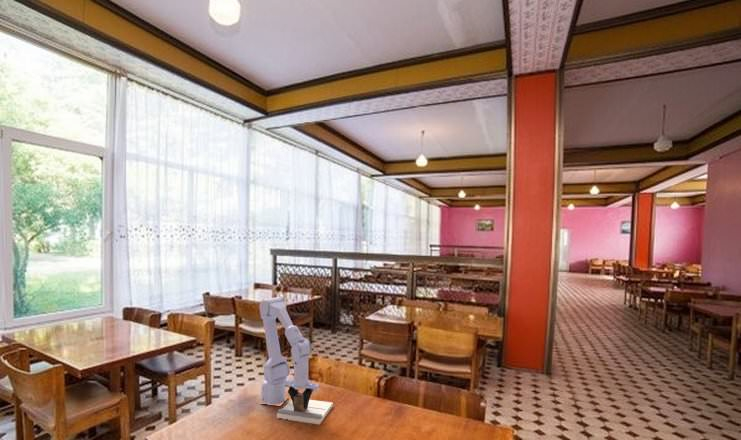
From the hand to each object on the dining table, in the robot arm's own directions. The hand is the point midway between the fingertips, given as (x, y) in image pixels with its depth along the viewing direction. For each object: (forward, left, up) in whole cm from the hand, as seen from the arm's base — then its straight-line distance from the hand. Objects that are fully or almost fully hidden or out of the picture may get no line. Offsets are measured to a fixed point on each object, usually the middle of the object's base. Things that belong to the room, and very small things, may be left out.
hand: (300, 407), depth 133 cm
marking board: (+1, +2, -3) cm, 4 cm away
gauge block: (0, 0, -1) cm, 1 cm away
